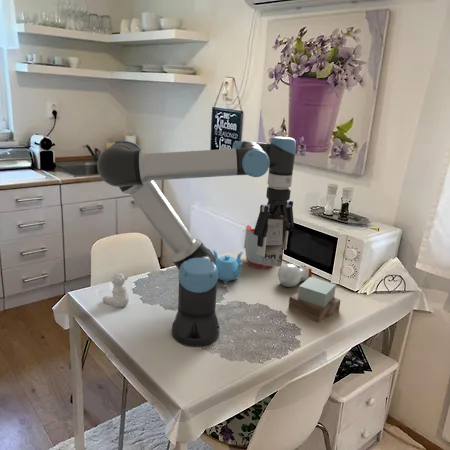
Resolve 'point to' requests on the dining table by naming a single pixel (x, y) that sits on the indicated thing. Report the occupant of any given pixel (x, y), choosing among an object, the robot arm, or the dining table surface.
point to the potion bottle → (293, 274)
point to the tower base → (314, 308)
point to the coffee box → (275, 241)
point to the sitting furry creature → (118, 292)
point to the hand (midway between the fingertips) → (271, 251)
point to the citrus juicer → (252, 249)
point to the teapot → (228, 267)
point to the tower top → (316, 291)
